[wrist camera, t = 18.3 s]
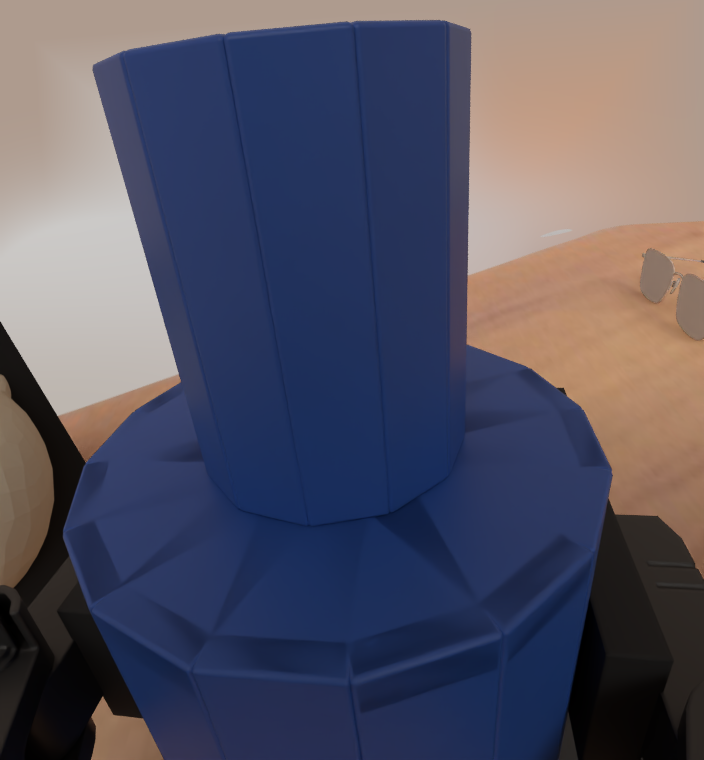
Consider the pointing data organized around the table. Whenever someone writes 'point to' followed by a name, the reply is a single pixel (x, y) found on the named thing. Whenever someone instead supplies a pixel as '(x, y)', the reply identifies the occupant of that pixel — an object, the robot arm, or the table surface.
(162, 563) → the blue bottle
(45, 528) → the decorative object
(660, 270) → the eyeglasses
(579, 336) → the table surface
